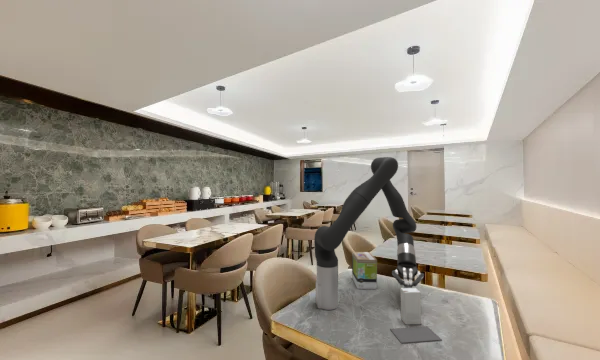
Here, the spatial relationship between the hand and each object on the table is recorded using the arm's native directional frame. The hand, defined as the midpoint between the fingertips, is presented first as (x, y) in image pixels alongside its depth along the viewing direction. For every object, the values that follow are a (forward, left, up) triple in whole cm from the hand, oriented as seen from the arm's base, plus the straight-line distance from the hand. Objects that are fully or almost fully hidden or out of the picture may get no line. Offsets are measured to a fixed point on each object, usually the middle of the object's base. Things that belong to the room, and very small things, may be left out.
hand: (408, 295), depth 102 cm
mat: (-6, -14, -7) cm, 17 cm away
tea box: (-7, +32, -8) cm, 34 cm away
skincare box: (-3, -6, -8) cm, 10 cm away
